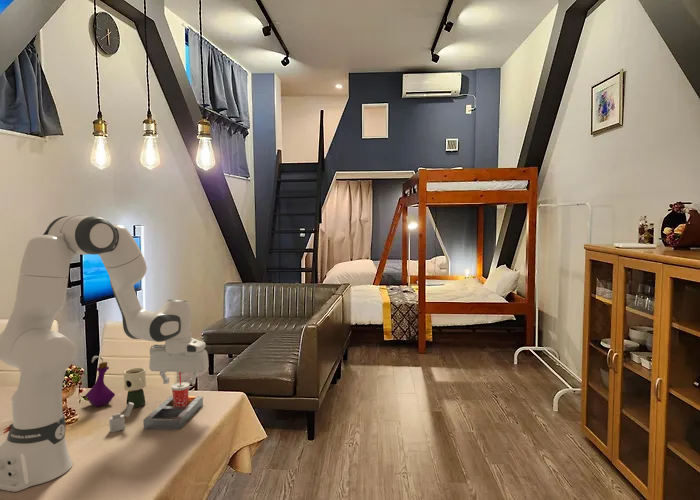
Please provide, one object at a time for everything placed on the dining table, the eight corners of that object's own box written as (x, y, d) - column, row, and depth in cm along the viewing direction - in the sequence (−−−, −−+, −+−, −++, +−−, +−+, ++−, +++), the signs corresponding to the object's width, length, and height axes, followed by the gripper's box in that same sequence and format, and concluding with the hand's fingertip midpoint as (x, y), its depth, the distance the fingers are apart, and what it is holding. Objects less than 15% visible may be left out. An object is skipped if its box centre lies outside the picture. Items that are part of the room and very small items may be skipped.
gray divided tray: (143, 428, 151) (143, 419, 151) (170, 404, 171) (170, 396, 170) (179, 429, 150) (179, 420, 150) (202, 404, 170) (202, 396, 170)
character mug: (120, 404, 171) (118, 369, 170) (140, 398, 176) (138, 365, 175) (131, 413, 163) (130, 376, 162) (152, 407, 168) (150, 371, 167)
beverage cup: (188, 413, 163) (187, 373, 162) (170, 414, 162) (168, 374, 161) (191, 406, 169) (190, 368, 168) (174, 407, 168) (172, 368, 167)
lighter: (111, 432, 148) (109, 408, 148) (109, 430, 150) (108, 406, 149) (135, 426, 153) (134, 402, 152) (133, 424, 154) (132, 400, 153)
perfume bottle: (105, 398, 176) (103, 351, 175) (115, 403, 172) (113, 355, 171) (84, 405, 170) (82, 356, 169) (94, 409, 166) (92, 360, 165)
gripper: (145, 346, 161) (146, 386, 162) (203, 347, 160) (204, 387, 161) (153, 342, 167) (154, 379, 168) (210, 342, 166) (210, 381, 167)
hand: (179, 383), depth 164 cm, fingers open, 8 cm apart
